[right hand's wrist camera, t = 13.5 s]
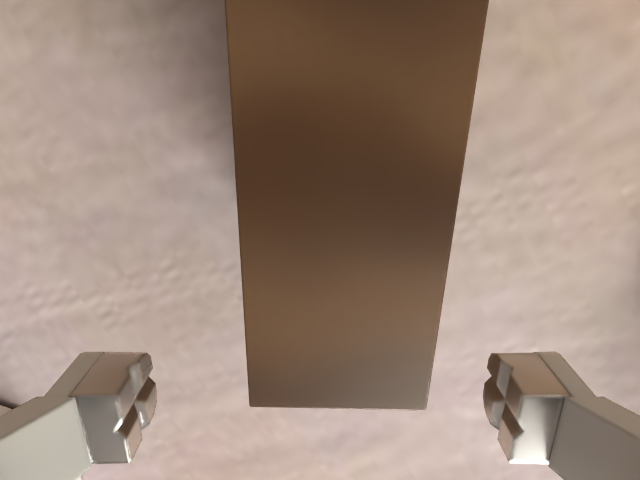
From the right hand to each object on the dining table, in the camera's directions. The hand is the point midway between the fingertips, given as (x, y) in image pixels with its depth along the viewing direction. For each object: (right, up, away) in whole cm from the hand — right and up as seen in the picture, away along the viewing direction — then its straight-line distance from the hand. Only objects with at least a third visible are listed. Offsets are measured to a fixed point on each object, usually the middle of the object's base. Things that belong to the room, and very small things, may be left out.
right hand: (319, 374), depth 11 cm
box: (+1, +15, +11) cm, 19 cm away
